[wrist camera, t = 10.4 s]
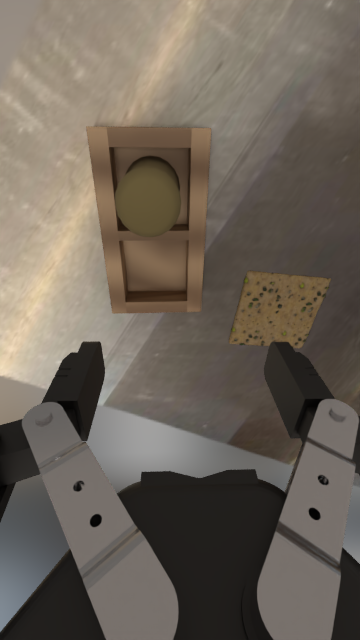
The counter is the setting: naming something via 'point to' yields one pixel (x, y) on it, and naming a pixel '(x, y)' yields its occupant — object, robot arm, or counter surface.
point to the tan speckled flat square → (277, 308)
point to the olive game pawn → (149, 197)
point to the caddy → (160, 251)
